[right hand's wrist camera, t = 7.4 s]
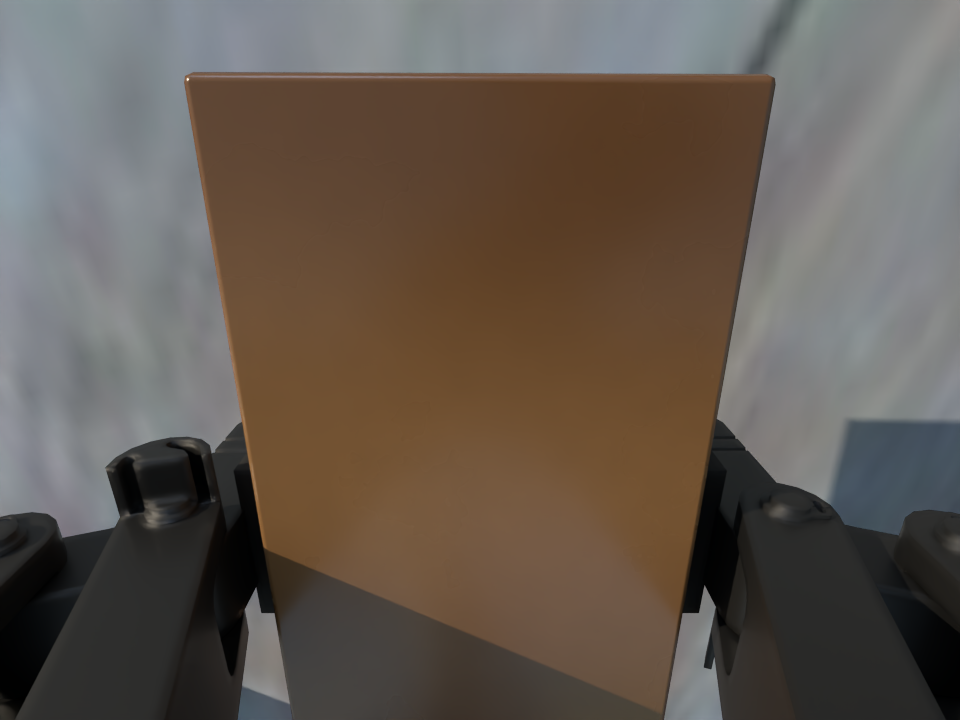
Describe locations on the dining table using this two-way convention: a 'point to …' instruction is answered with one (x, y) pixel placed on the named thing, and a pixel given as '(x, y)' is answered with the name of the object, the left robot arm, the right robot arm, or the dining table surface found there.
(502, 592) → the beam
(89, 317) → the dining table surface
